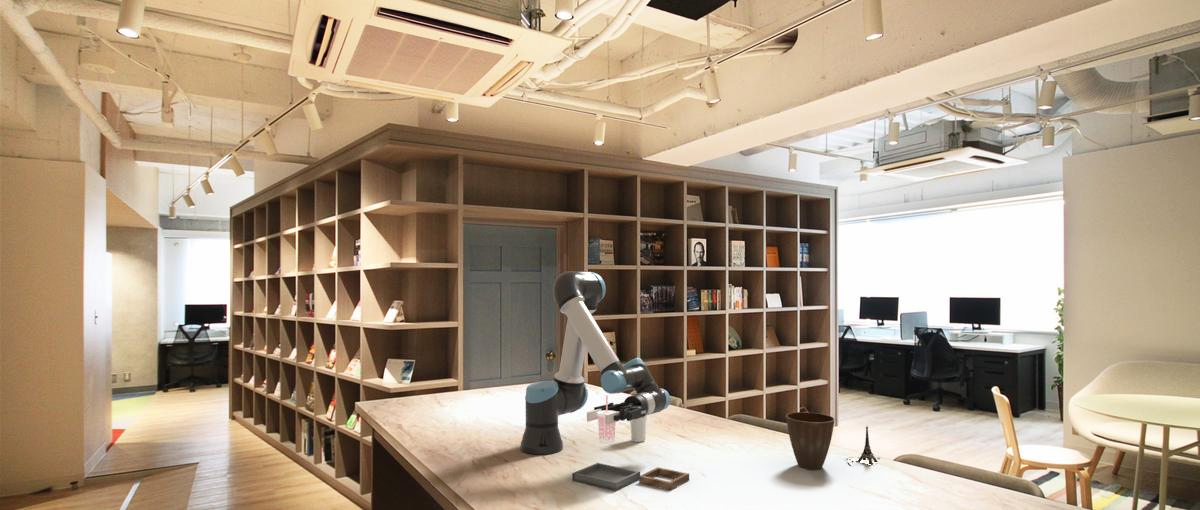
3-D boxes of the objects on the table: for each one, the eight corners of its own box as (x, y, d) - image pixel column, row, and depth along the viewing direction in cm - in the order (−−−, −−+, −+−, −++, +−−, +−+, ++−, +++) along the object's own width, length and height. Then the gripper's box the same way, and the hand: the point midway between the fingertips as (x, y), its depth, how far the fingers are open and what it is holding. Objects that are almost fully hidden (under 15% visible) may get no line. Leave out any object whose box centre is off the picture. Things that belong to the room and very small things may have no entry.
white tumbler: (646, 443, 230) (645, 402, 231) (628, 442, 232) (627, 402, 232) (648, 438, 237) (648, 399, 238) (630, 438, 238) (630, 398, 239)
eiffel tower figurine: (883, 459, 211) (883, 419, 212) (897, 468, 201) (896, 426, 202) (839, 459, 212) (838, 419, 212) (850, 468, 202) (849, 426, 202)
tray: (572, 480, 187) (572, 473, 187) (597, 470, 198) (597, 462, 198) (616, 491, 178) (616, 483, 178) (640, 479, 188) (640, 471, 189)
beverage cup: (619, 440, 190) (619, 394, 191) (613, 445, 185) (613, 398, 185) (600, 438, 192) (600, 393, 193) (594, 443, 187) (593, 396, 187)
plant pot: (836, 463, 205) (836, 414, 206) (833, 476, 192) (832, 423, 192) (790, 457, 211) (789, 410, 212) (783, 470, 198) (782, 419, 199)
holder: (639, 483, 185) (639, 476, 185) (657, 473, 194) (657, 467, 194) (671, 490, 179) (671, 483, 179) (689, 480, 188) (689, 473, 188)
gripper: (664, 421, 198) (623, 435, 179) (614, 413, 209) (571, 426, 190) (663, 397, 198) (623, 409, 179) (614, 391, 209) (571, 402, 191)
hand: (596, 418), depth 185 cm, fingers closed on beverage cup, 6 cm apart
